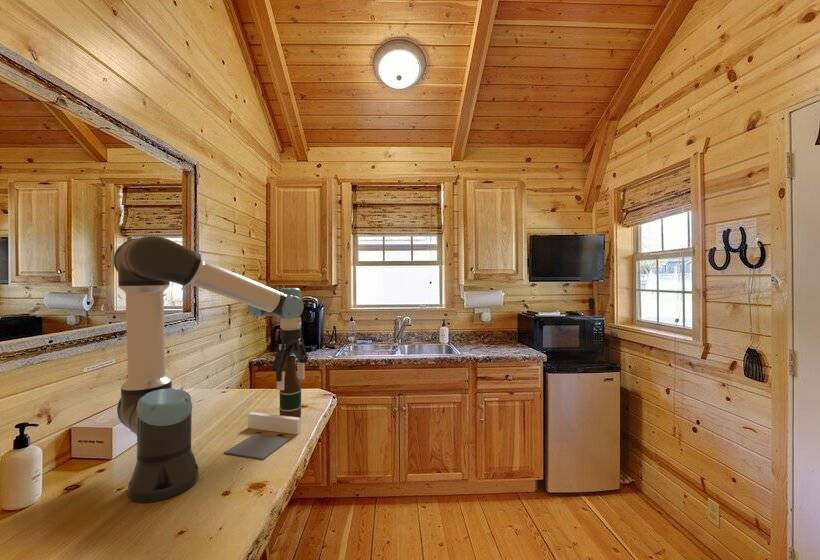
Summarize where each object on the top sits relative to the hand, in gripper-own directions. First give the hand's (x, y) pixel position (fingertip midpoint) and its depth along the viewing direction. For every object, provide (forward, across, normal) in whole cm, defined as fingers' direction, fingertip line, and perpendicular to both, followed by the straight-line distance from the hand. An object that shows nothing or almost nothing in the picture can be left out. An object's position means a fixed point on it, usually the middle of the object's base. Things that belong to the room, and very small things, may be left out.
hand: (291, 384), depth 137 cm
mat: (+13, -22, -3) cm, 26 cm away
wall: (+13, -10, 0) cm, 17 cm away
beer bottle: (+14, 0, 0) cm, 14 cm away
